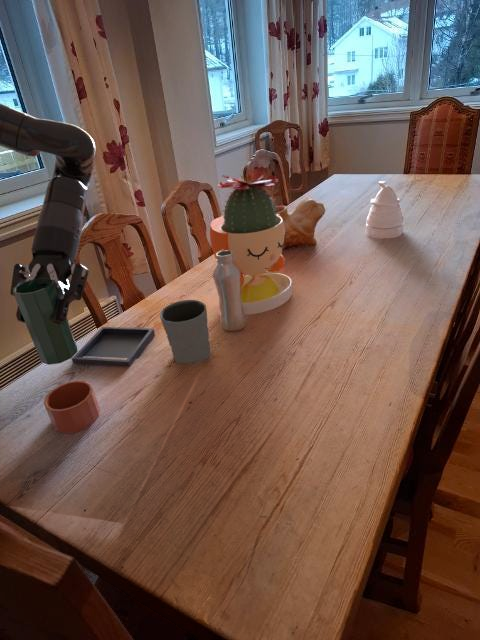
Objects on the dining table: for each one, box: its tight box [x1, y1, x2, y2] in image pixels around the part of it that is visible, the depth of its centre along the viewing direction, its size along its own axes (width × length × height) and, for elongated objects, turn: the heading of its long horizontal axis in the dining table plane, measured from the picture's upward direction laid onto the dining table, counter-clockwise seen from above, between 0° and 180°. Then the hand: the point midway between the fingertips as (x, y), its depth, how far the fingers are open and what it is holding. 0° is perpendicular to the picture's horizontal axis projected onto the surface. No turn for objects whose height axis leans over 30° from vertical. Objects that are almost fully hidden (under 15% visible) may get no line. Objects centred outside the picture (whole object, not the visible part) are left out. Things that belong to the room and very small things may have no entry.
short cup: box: [43, 380, 101, 434], centre depth 82 cm, size 9×9×6 cm
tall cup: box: [13, 278, 79, 366], centre depth 75 cm, size 6×7×14 cm
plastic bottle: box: [212, 251, 247, 332], centre depth 104 cm, size 6×7×20 cm
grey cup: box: [159, 299, 212, 365], centre depth 96 cm, size 10×10×12 cm
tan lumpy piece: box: [275, 197, 326, 251], centre depth 154 cm, size 14×26×15 cm, turn 103°
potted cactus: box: [209, 165, 293, 315], centre depth 115 cm, size 22×22×35 cm
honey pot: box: [365, 180, 405, 239], centre depth 153 cm, size 13×13×18 cm
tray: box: [71, 326, 156, 368], centre depth 105 cm, size 15×15×2 cm
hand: (40, 322), depth 74 cm, fingers closed on tall cup, 6 cm apart
